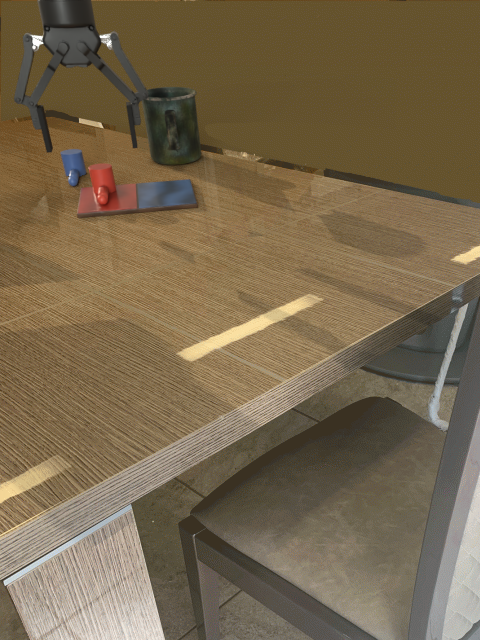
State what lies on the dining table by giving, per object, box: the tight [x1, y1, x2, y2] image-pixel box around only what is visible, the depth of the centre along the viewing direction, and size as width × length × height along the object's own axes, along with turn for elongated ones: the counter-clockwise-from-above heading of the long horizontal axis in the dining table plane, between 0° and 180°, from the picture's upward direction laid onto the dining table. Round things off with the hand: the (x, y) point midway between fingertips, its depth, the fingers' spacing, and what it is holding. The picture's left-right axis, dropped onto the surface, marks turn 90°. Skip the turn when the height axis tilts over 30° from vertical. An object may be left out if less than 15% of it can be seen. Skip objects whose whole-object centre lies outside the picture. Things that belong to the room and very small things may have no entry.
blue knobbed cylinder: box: [60, 148, 87, 187], centre depth 117 cm, size 10×4×4 cm, turn 14°
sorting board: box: [76, 178, 199, 219], centre depth 109 cm, size 19×14×1 cm
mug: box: [141, 86, 202, 166], centre depth 124 cm, size 11×15×12 cm
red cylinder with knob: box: [88, 162, 117, 205], centre depth 107 cm, size 10×4×4 cm, turn 13°
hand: (93, 148), depth 106 cm, fingers open, 13 cm apart
